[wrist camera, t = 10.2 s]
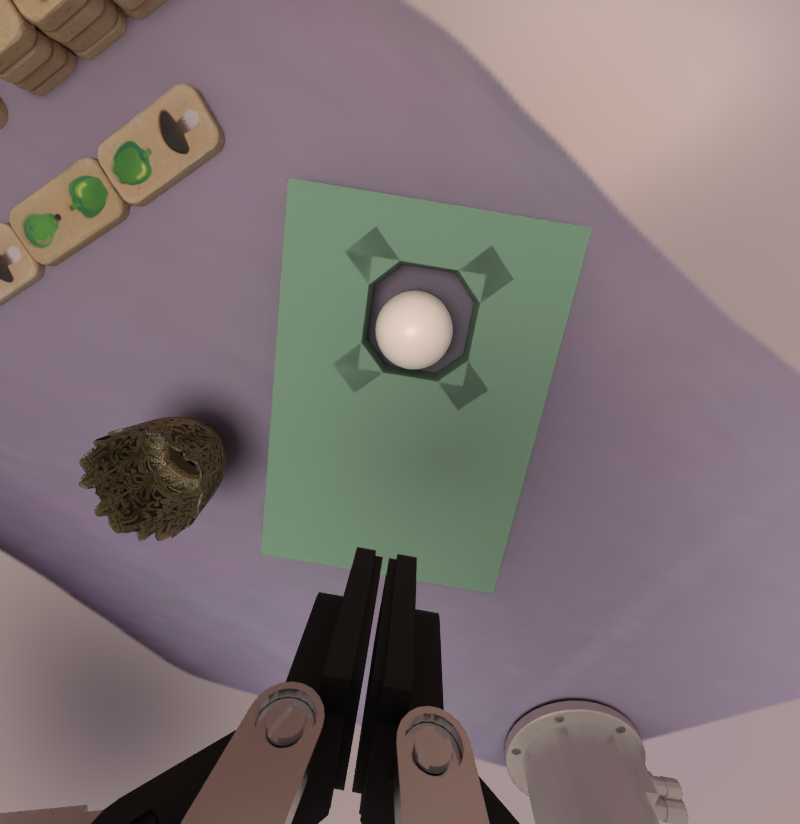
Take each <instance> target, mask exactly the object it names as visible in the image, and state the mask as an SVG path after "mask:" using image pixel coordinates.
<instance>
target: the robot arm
mask: <svg viewBox="0 0 800 824" xmlns="http://www.w3.org/2000/svg"><path fill="white" fill-rule="evenodd" d="M382 560H383V557H380V556H376V550H372V549H367V548H361V547H357V549H356V553H355V556H354V560H353V564H352V567H351V571H350V575H349V578H348V582H347V586H346V589H345V593H344V597H343V596H338V595H332V594H326V593H321V592H319V593H318V595H317V597H316V600H315V603H314V606H313V608H312V611H311V614H310V617H309V619H308V622H307V625H306V628H305V630H304V633H303V636H302V639H301V641H300V644H299V647H298V650H297V652H296V655H295V658H294V661H293V664H292V666H291V669H290V672H289V675H288V677H287V680H286V682H283V683H279V684H276V685H274V686H271V687H269V688H268V689H266V690H265V691H264V692H262V693H261V694H260V695H259V696H258V697H257V698H256V700H255V701H254V702H253V704H252V705H251V707H250V708H249V710H248V711H247V713H246V715H245V717H244V718H243V720H242V722H241V723H240V725H239V727H238V728H237V730H235V731H233V732H232V733H230V734H229V735H227V736H225V737H223V738H221V739H220V740H218V741H216V742H215V743H213V744H211V745H210V746H208V747H206V748H205V749H203V750H201V751H199V752H198V753H196V754H194V755H193V756H191V757H189V758H187V759H186V760H184V761H183V762H181V763H179V764H177V765H175V766H174V767H172V768H170V769H169V770H167V771H165V772H164V773H162V774H160V775H158V776H157V777H155V778H153V779H152V780H150V781H148V782H147V783H145V784H143V785H141V786H140V787H138V788H136V789H135V790H133V791H131V792H130V793H128V794H126V795H124V796H123V797H121V798H119V799H118V800H117V801H115V802H114V803H113V804H111V805H110V806H109V807H107V808H106V809H104V810H99V811H90V812H88V807H87V805H79V806H69V807H59V808H50V809H38V810H28V811H18V812H8V813H0V824H318V823H319V822H320V821H321V820H323V819H324V818H325V817H326V816H327V815H328V813H329V808H330V807H331V801H332V796H333V790H334V789H340V790H344V786H345V781H346V775H347V769H348V763H349V758H350V752H351V746H352V740H353V734H354V729H355V723H356V717H357V711H358V705H359V700H360V694H361V688H362V682H363V676H364V670H365V664H366V658H367V652H368V646H369V639H370V633H371V627H372V621H373V615H374V609H375V603H376V597H377V590H378V584H379V578H380V572H381V566H382ZM416 573H417V557H412V556H407V555H401V554H397V559H392V558H389V561H388V567H387V573H386V578H385V584H384V590H383V595H382V601H381V606H380V612H379V618H378V623H377V629H376V635H375V641H374V647H373V653H372V660H371V667H370V674H369V680H368V687H367V694H366V701H365V707H364V714H363V721H362V728H361V734H360V741H359V748H358V755H357V761H356V768H355V775H354V782H353V789H352V792H356V793H361V794H362V795H361V804H360V811H359V814H361V819H360V821H361V823H362V824H519V822H518V821H517V820H516V819H515V818H514V817H513V816H512V814H511V813H510V812H509V811H508V810H507V808H506V807H505V806H504V805H503V804H502V803H501V801H500V800H499V799H498V798H497V797H496V796H495V794H494V793H493V792H492V791H491V790H490V789H489V787H488V786H487V785H486V784H485V783H484V782H483V781H482V779H481V778H480V777H479V776H478V772H477V768H476V764H475V760H474V756H473V751H472V747H471V743H470V741H469V738H468V735H467V733H466V731H465V729H464V728H463V727H462V725H461V724H460V722H459V721H458V720H457V719H456V718H454V717H453V716H452V715H451V714H450V713H448V712H446V711H444V709H443V686H442V663H441V641H440V619H439V614H438V613H434V612H428V611H422V610H417V609H415V604H416ZM504 753H505V760H506V766H507V770H508V773H509V775H510V777H511V779H512V780H513V782H514V784H515V785H516V786H517V787H518V788H519V789H520V790H521V791H523V792H524V793H525V794H526V795H528V796H529V797H530V800H531V805H532V810H533V814H534V819H535V824H659V822H658V820H661V821H663V822H666V823H672V824H687V823H688V814H687V810H686V807H685V804H684V803H683V801H682V800H681V798H682V789H681V786H680V784H679V782H678V781H677V780H676V779H673V778H667V777H661V776H660V777H655V776H653V775H652V774H651V773H650V772H649V771H647V769H646V766H645V750H644V746H643V743H642V740H641V738H640V736H639V734H638V732H637V730H636V728H635V727H634V726H633V725H632V723H631V722H630V721H629V720H628V719H627V718H626V717H624V716H623V715H622V714H621V713H619V712H617V711H615V710H613V709H612V708H610V707H607V706H604V705H601V704H598V703H593V702H588V701H571V700H570V701H562V702H555V703H552V704H548V705H544V706H542V707H540V708H537V709H535V710H533V711H531V712H530V713H528V714H527V715H525V716H524V717H523V718H521V719H520V720H519V721H518V722H517V723H516V724H515V725H514V727H513V728H512V730H511V731H510V732H509V734H508V737H507V739H506V742H505V750H504Z"/></svg>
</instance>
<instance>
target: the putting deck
mask: <svg viewBox="0 0 800 824" xmlns="http://www.w3.org/2000/svg"><path fill="white" fill-rule="evenodd" d="M591 231H592V228H591V227H585V226H579V225H573V224H567V223H560V222H554V221H548V220H542V219H536V218H530V217H524V216H518V215H512V214H506V213H500V212H493V211H487V210H481V209H475V208H469V207H463V206H457V205H451V204H445V203H439V202H433V201H427V200H420V199H414V198H408V197H402V196H396V195H390V194H384V193H378V192H372V191H366V190H360V189H353V188H347V187H341V186H335V185H329V184H323V183H317V182H311V181H305V180H299V179H293V178H288V186H287V200H286V214H285V228H284V242H283V256H282V270H281V283H280V297H279V311H278V325H277V339H276V353H275V367H274V381H273V394H272V408H271V422H270V436H269V450H268V464H267V478H266V492H265V505H264V519H263V533H262V547H261V554H263V555H269V556H274V557H280V558H286V559H292V560H298V561H303V562H309V563H315V564H321V565H327V566H332V567H338V568H344V569H350V570H351V567H352V564H353V560H354V556H355V553H356V549H357V547H361V548H367V549H372V550H376V556H380V557H383V560H382V566H381V572H380V575H385V576H386V573H387V567H388V561H389V558H392V559H397V554H401V555H407V556H412V557H417V573H416V581H420V582H425V583H431V584H437V585H443V586H449V587H454V588H460V589H466V590H472V591H478V592H484V593H489V594H494V590H495V586H496V583H497V579H498V575H499V572H500V568H501V564H502V560H503V557H504V553H505V549H506V546H507V542H508V538H509V535H510V531H511V527H512V523H513V520H514V516H515V512H516V509H517V505H518V501H519V498H520V494H521V490H522V486H523V483H524V479H525V475H526V472H527V468H528V464H529V461H530V457H531V453H532V450H533V446H534V442H535V438H536V435H537V431H538V427H539V424H540V420H541V416H542V413H543V409H544V405H545V401H546V398H547V394H548V390H549V387H550V383H551V379H552V376H553V372H554V368H555V364H556V361H557V357H558V353H559V350H560V346H561V342H562V339H563V335H564V331H565V327H566V324H567V320H568V316H569V313H570V309H571V305H572V302H573V298H574V294H575V291H576V287H577V283H578V279H579V276H580V272H581V268H582V265H583V261H584V257H585V254H586V250H587V246H588V242H589V239H590V235H591ZM402 264H406V265H412V266H418V267H424V268H430V269H436V270H442V271H448V272H454V273H455V274H456V275H457V277H458V278H459V280H460V281H461V283H462V284H463V286H464V287H465V289H466V290H467V292H468V293H469V295H470V296H471V298H472V300H473V301H474V307H473V311H472V316H471V321H470V326H469V331H468V336H467V341H466V346H465V351H464V354H463V355H462V356H460V357H459V358H457V359H456V360H454V361H453V362H451V363H450V364H449V365H447V366H446V367H444V368H443V369H441V370H440V371H438V372H437V373H432V372H426V371H420V370H412V369H405V368H402V367H396V366H390V365H387V364H386V363H385V361H384V360H383V359H382V357H381V356H380V355H379V353H378V352H377V351H376V349H375V348H374V346H373V345H372V344H371V342H370V341H369V340H368V338H367V336H368V328H369V321H370V313H371V306H372V299H373V291H374V286H375V285H376V284H377V283H378V282H380V281H381V280H382V279H384V278H385V277H386V276H387V275H389V274H390V273H391V272H393V271H394V270H395V269H397V268H398V267H399V266H400V265H402Z"/></svg>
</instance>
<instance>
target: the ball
mask: <svg viewBox="0 0 800 824" xmlns="http://www.w3.org/2000/svg"><path fill="white" fill-rule="evenodd" d="M375 333H376V340H377V343H378V346H379V348H380V350H381V352H382V353H383V354H384V356H385V357H386V358H387V359H388V360H389V361H391V362H392V363H393V364H395V365H397V366H399V367H402V368H405V369H412V370H414V369H422V368H426V367H429V366H431V365H433V364H434V363H436V362H437V361H438V360H440V359H441V358H442V357H443V355H444V354H445V353H446V351H447V350H448V348H449V346H450V343H451V340H452V335H453V325H452V320H451V316H450V314H449V312H448V310H447V308H446V307H445V305H444V304H443V303H442V302H441V301H440V300H439V299H438V298H436V297H435V296H433V295H431V294H429V293H426V292H423V291H406V292H402V293H400V294H398V295H395V296H394V297H392V298H391V299H390V300H389V301H388V302H386V304H385V305H384V306H383V307H382V309H381V311H380V313H379V315H378V317H377V321H376V328H375Z"/></svg>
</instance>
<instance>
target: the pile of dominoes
mask: <svg viewBox="0 0 800 824" xmlns="http://www.w3.org/2000/svg"><path fill="white" fill-rule="evenodd" d="M165 1H166V0H0V78H2V79H3V80H5V81H7V82H10V83H13V84H15V85H16V86H18V87H20V88H22V89H24V90H28V91H30V92H32V93H33V94H35V95H38V96H43V95H46V94H47V93H48V92H50V91H51V90H52V89H53V88H54V87H56V86H57V85H58V84H59V83H61V82H62V81H63V80H64V79H66V78H67V77H68V76H69V75H70V74H72V73H73V72H74V70H75V68H76V56H77V55H78V56H79V57H81V58H83V59H86V60H91V59H94V58H95V57H96V56H97V55H99V54H100V53H101V52H102V51H104V50H105V49H106V48H108V47H109V46H110V45H111V44H113V43H114V42H115V41H116V40H118V39H119V38H120V37H121V36H123V35H124V34H125V32H126V29H127V18H126V17H127V16H130V17H132V18H134V19H137V20H142V19H144V18H145V17H146V16H148V15H149V14H150V13H151V12H153V11H154V10H155V9H156V8H157V7H159V6H160V5H161V4H162V3H164V2H165ZM7 120H8V112H7V108H6V106H5V104H4V102H3V101H2V99H1V98H0V129H1V128H2V127H3V126H4V125H5V124H6V123H7ZM224 143H225V139H224V134H223V132H222V130H221V128H220V126H219V125H218V123H217V121H216V119H215V118H214V116H213V114H212V112H211V111H210V109H209V107H208V106H207V104H206V102H205V100H204V99H203V97H202V96H201V94H200V92H199V91H197V90H196V89H195V88H194V87H192V86H191V85H189V84H186V83H180V84H176V85H175V86H174V87H172V88H171V89H170V90H169V91H167V92H166V93H165V94H163V95H162V96H161V97H160V98H158V99H157V100H156V101H155V102H153V103H152V104H151V105H149V106H148V107H147V108H146V109H144V110H143V111H142V112H140V113H139V114H138V115H137V116H135V117H134V118H133V119H131V120H130V121H129V122H128V123H126V124H125V125H124V126H123V127H121V128H120V129H119V130H117V131H116V132H115V133H114V134H112V135H111V136H110V137H109V138H107V139H106V140H105V141H104V142H102V143H101V145H100V146H99V148H98V160H96V159H93V158H87V157H86V158H83V159H80V160H79V161H77V162H76V163H74V164H73V165H72V166H70V167H69V168H68V169H66V170H65V171H63V172H62V173H61V174H59V175H58V176H57V177H55V178H54V179H52V180H51V181H50V182H48V183H47V184H46V185H44V186H43V187H41V188H40V189H39V190H37V191H36V192H35V193H33V194H32V195H30V196H29V197H28V198H26V199H25V200H24V201H22V202H21V203H19V204H18V205H17V206H15V207H14V208H13V209H12V210H11V212H10V215H9V219H10V224H7V223H0V306H1V305H2V304H4V303H5V302H7V301H8V300H10V299H11V298H13V297H14V296H16V295H17V294H19V293H20V292H22V291H23V290H25V289H26V288H28V287H29V286H31V285H32V284H34V283H35V282H37V281H39V280H40V279H41V278H42V277H43V275H44V272H45V265H50V266H54V265H58V264H59V263H61V262H62V261H64V260H65V259H67V258H68V257H70V256H71V255H73V254H74V253H76V252H77V251H79V250H80V249H82V248H83V247H85V246H86V245H88V244H89V243H91V242H92V241H94V240H95V239H97V238H98V237H100V236H101V235H103V234H104V233H106V232H108V231H109V230H111V229H112V228H114V227H115V226H117V225H118V224H120V223H121V222H123V221H124V220H125V219H126V218H127V216H128V215H129V211H130V205H132V204H133V205H136V206H145V205H147V204H148V203H150V202H151V201H153V200H154V199H155V198H157V197H158V196H160V195H161V194H162V193H164V192H165V191H167V190H168V189H169V188H171V187H172V186H173V185H175V184H176V183H178V182H179V181H180V180H182V179H183V178H185V177H186V176H187V175H189V174H190V173H192V172H193V171H194V170H196V169H197V168H199V167H200V166H201V165H203V164H204V163H206V162H207V161H209V160H210V159H211V158H213V157H214V156H216V155H217V154H218V153H219V152H220V151H221V150H222V148H223V146H224Z"/></svg>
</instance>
